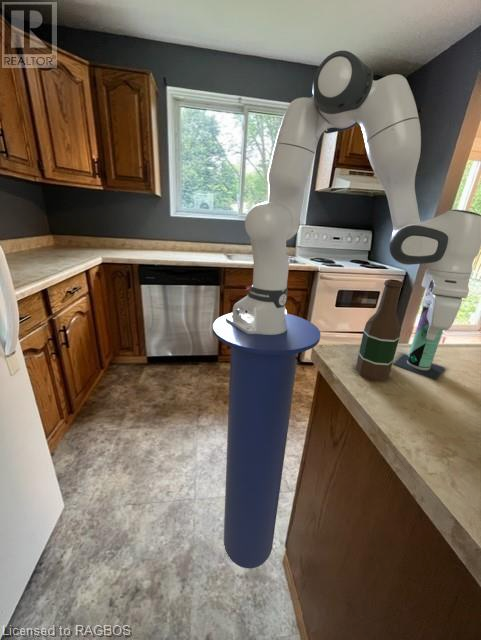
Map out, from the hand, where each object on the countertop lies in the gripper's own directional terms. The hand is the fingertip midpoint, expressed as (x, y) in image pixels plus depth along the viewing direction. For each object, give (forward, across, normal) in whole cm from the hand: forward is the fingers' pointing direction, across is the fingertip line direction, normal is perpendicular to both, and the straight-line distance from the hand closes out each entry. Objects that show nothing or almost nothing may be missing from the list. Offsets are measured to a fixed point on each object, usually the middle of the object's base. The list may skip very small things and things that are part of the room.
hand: (427, 334), depth 71 cm
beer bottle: (+10, +11, -11) cm, 18 cm away
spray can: (+9, 0, 0) cm, 9 cm away
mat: (+9, 0, 0) cm, 9 cm away
